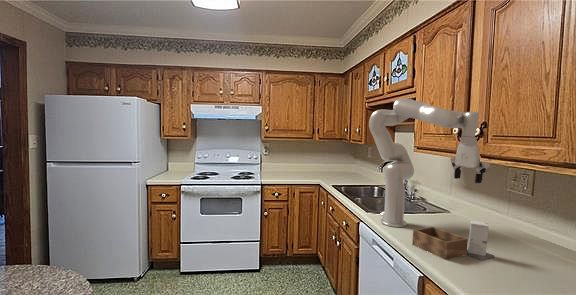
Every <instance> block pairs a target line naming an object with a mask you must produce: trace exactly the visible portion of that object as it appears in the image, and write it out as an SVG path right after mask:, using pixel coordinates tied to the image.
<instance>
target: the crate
mask: <svg viewBox="0 0 576 295" xmlns="http://www.w3.org/2000/svg"><path fill="white" fill-rule="evenodd" d="M468 244H469V238H467V237H464V236H461V235H458V234H455V233H452V232H449V231H447V230H444V229H441V228H439V227H435V226H428V227H423V228H422V227H421V228H418V229H413V231H412V246H413V245H414V247H416V248H418V247H419V248H418V249H420V248H421V249H420V250H422V249H423V250H422V251H425V252H427V251H428V253H429V252H430V254H431V253H432V255H434V256H436V257H438V256H439V257H438V258H440V259H443V260H445V261H447V260H452V259H455V258H460V257H463V256H467V250H468Z"/></svg>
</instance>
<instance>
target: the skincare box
mask: <svg viewBox="0 0 576 295" xmlns="http://www.w3.org/2000/svg"><path fill="white" fill-rule="evenodd" d="M489 227H490V226H489V223H488V222H482V221H476V220H475V221H474V220H470V226H469V237H468V246H467V250H468V253H472V254H477V255H482V256H486V253H487V245H488V237H489V236H488V235H489Z"/></svg>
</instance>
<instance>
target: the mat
mask: <svg viewBox="0 0 576 295" xmlns="http://www.w3.org/2000/svg"><path fill="white" fill-rule="evenodd" d="M467 255H468V256H469V257H472V258H475V259H477V260H480V261H484V260H487V259H491V258H492V259H493V258H495V254H492V253H489V252H486V256H482V255H477V254H472V253H468V249H467ZM467 255H466V256H467Z"/></svg>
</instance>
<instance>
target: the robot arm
mask: <svg viewBox="0 0 576 295" xmlns="http://www.w3.org/2000/svg"><path fill="white" fill-rule="evenodd" d="M392 106H393V109H386V108H385V109H377V110H375V111H374V112H372V114H371V115H370V117H369V120H368V127H369V131H370V133H371V135H372V137H373V140H374V143H375V145H376V148H377V150H378V152H379V156H380V158H381V159H382V160H383V161H384V162H391V163H389V164H387V165H386V166H385V169H384V172H383V174H384V181H385V182H384V183H385V190H384V192H385V194H384V210H383V211H382V212H380V213H379V216H381V217H382V218H381V219H380V223H381V224H382V225H384V226H388V227H393V228H402V227H406V226H407V224H408V223H407V221H406V220H404V218H405V217H404V216H405V197H406V186H405V182H404V181H407V180H409V179H411V178H412V177H413V176H414V174H415V169H414V165H413V163H412V160H411V158H410V155H409V153H408V151H407V149H406V147H405V146H404V145H403V144H401V143H398V142H394V141H393V138H392V136H391V133H390V131H388V129H387V127H393V126H397V125H399V124H401V123H403V122H405V121H406V120H408V119H409V118H410V119H415V120H418V121H421V122H424V123H427V124H431V125H435V126H437V127H438V126H439V127H441V128H446V129H450V128H451V129H462V132H461V137H459V141H460V142H459V143H458V146H457V148H456V153H455V156H453V157H452V158H450V162H451V166H452V167H453V170H454V174H453V176H454V177H453V178H454V179H455V180H456V179H457V180H458V179H461V174H462V169H461V168H468V169H474V170H475V171H476V174H475V179H474V183H475V184H481V183H482V181H483V175H484V174H485V173H486V172H487V171H488V170H489V168H490V167H491V164H490V163H489V162H487V161H486V162H487V163H486V162H480V158H481V156H480V154H479V146H478V145H477V140H476V137H475V133H476V129H477V128H478V119H479V113H478V112H479V111H467V112H464V111H459V110H452V109H450V110H449V109H445V108H440V107H437V106H432V105H431V104H430V103H428V102H423V101H418V100H414V99H412V98H404V97H401V98H398V99H396V100H395V101H394V102H393V105H392Z"/></svg>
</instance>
